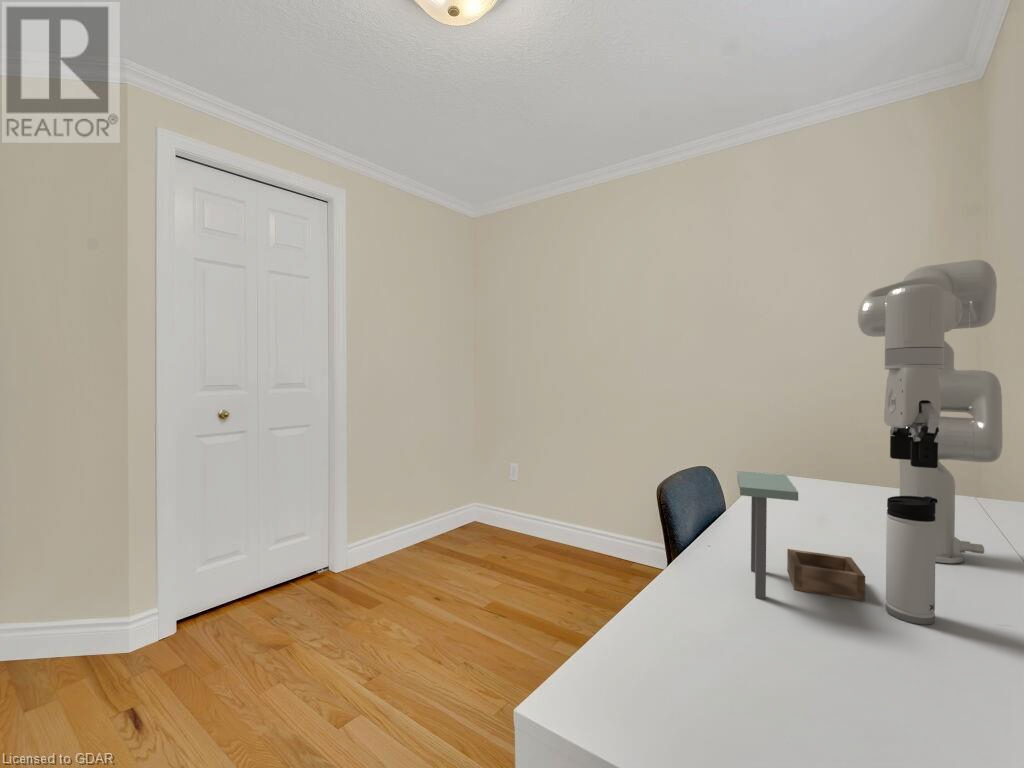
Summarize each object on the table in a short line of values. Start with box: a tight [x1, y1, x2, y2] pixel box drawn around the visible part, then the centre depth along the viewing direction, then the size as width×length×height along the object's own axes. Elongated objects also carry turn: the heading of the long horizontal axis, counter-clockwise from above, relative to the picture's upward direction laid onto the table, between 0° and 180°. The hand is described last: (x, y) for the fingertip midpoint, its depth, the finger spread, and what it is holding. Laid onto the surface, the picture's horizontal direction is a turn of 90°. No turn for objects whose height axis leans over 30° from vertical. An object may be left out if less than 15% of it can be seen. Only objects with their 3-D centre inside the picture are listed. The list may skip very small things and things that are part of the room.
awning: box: [736, 470, 799, 601], centre depth 90 cm, size 9×17×20 cm, turn 156°
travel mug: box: [885, 495, 937, 626], centre depth 78 cm, size 6×7×20 cm
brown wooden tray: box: [786, 548, 866, 602], centre depth 90 cm, size 11×10×4 cm
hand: (912, 462), depth 78 cm, fingers open, 9 cm apart
